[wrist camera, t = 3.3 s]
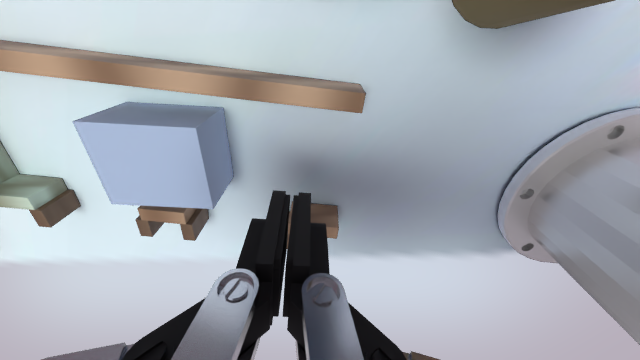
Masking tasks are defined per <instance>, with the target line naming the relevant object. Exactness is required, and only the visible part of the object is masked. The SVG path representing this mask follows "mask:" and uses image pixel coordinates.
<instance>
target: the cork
mask: <svg viewBox="0 0 640 360" xmlns="http://www.w3.org/2000/svg"><path fill="white" fill-rule="evenodd" d="M610 1H614V0H452V2H453V5H454V7H455V8H456V9H457V11H458V12H459V13H460V14H461V16H462V17H463V18H464V19H465V20H466V21H468V22H470V23H472V24H474V25H476V26H478V27H480V28H496V29H498V28H502V27H507V26H511V25H515V24H519V23H523V22H527V21H532V20H536V19H540V18H544V17H548V16H552V15H556V14H561V13H565V12H569V11H573V10H577V9H581V8H585V7H590V6H594V5H598V4H602V3H606V2H610Z"/></svg>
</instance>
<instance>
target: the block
mask: <svg viewBox="0 0 640 360" xmlns="http://www.w3.org/2000/svg"><path fill="white" fill-rule="evenodd" d="M72 122H73V124H74V126H75V128H76V130H77V132H78V134H79V136H80V138H81V141H82V143H83V145H84V147H85V149H86V151H87V153H88V155H89V157H90V160H91V162H92V164H93V166H94V168H95V170H96V172H97V174H98V176H99V178H100V181H101V183H102V185H103V187H104V189H105V191H106V193H107V195H108V197H109V200H110V202H111V204H122V205H142V206H162V207H181V208H201V209H214V207H215V206H216V204H217V202H218V201H219V199H220V198H221V196H222V194H223V193H224V191H225V190H226V188H227V186H228V185H229V183H230V182H231V180H232V178H233V177H234V175H233V169H232V162H231V155H230V149H229V142H228V135H227V129H226V122H225V116H224V109H223V107H208V106H189V105H171V104H152V103H134V102H125V103H122V104H119V105H117V106H114V107H111V108H108V109H106V110H103V111H100V112H97V113H95V114H92V115H89V116H86V117H84V118H81V119H78V120H75V121H72Z"/></svg>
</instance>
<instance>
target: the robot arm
mask: <svg viewBox="0 0 640 360" xmlns="http://www.w3.org/2000/svg"><path fill="white" fill-rule="evenodd" d="M289 206H290V195H286V191H274V190H273V193H272V197H271V201H270V205H269V210H268V214H267V218H266V219H252V220H251V223H250V226H249V229H248V232H247V235H246V239H245V242H244V245H243V248H242V251H241V254H240V257H239V260H238V264H237V267H236V269H233V270H230V271H227V272H225V273H224V274H222V275H221V276H220V277H219V278H218V279H217V280H216V281H215V283H214V284H213V286H212V288H211V290H210V291H209V293H208V295H207V297H206V298H205V299H203V300H202V301H200V302H198V303H197V304H195V305H194V306H192V307H191V308H189V309H187V310H186V311H184V312H183V313H181V314H179V315H178V316H176V317H175V318H173V319H171V320H170V321H168V322H167V323H165V324H164V325H162V326H160V327H159V328H157V329H156V330H154V331H152V332H151V333H149V334H148V335H146V336H145V337H143V338H142V339H140V340H139V341H138V342H136V343H135V344H132V345H126V344H125V343H120V344H115V345H110V346H105V347H99V348H94V349H89V350H84V351H79V352H74V353H69V354H63V355H58V356H53V357H48V358H45V359H42V360H254V357H255V354H256V351H257V348H258V345H259V341H260V337H261V336H262V335H263V334H264V333H266V332H267V331H268V330H269V329H270V325H272V319H273V316H278V315H279V306H280V299H281V290H282V282H283V274H284V265H285V257H286V249H287V239H288V222H289ZM498 226H499V228H500V231H501V233H502V235H503V237H504V238H505V239H506V240H507V241H508V243H509V244H510V245H511V246H512V247H513V248H514V249H515V250H516V251H517V252H518V253H520V254H522V255H524V256H526V257H528V258H530V259H533V260H537V261H541V262H550V263H559V264H560V265H561V266H562V267H563V268H564V269H565V270H566V271H567V272H568V273H569V274H570V275H571V276H572V277H573V278H574V279H575V280H576V281H577V283H579V284H580V286H582V288H583V289H584V290H585V291H587V293H588V294H589V295H591V297H592V298H593V299H595V300H596V302H597V303H599V305H600V306H601V307H602V308H603V309H604V310H605V311H606V312H607V313H608V314H609V315H610V316H611V317H613V319H614V320H615V321H616V322H617V323H618V324H619V325H620V326H621V327H622V328H623V329H624V330H625V331H626V332H627V333H628V334H629V335H630V336H631V337H632V338H633V339H634V340H635V341H636V342H637V343H638V344H639V345H640V108H632V109H627V110H623V111H618V112H614V113H610V114H607V115H604V116H601V117H598V118H596V119H593V120H590V121H588V122H585V123H583V124H581V125H579V126H577V127H575V128H573V129H571V130H570V131H568V132H566V133H564V134H562V135H561V136H559V137H558V138H556V139H555V140H553V141H552V142H550V143H549V144H547V145H546V146H544V147H543V148H542V149H541V150H540V151H538V152H537V153H536V154H535V155H534V156H533V157H531V158H530V159H529V160H528V161H527V162H526V163H525V164H524V165H523V167H522V168H521V169H520V170H519V171H518V172H517V173H516V174H515V176H514V177H513V179H512V180H511V182H510V183H509V185H508V186H507V188H506V189H505V192H504V194H503V196H502V199H501V201H500V204H499V210H498ZM283 317H288V328H287V330H288V331H289V332H290V333H291V334H292V336H293V337H294V338H295V339H296V353H297V360H439V359H436V358H433V357H429V356H426V355H422V354H419V353H415V352H412V351H411V353H410V354H408V353H405V352H402V351H401V350H400V349H399V348H398V347H397V346H396V345H395V344H394V343H393V342H392V341H391V340H390V339H388V338H387V337H386V336H385V335H384V334H383V333H382V332H380V330H378V329H377V328H376V327H375V326H374V325H373V324H372V323H371V322H369V321H368V320H367V319H366V318H365V317H364V316H363V315H362V314H360V313H359V312H358V311H357V310H356V309H355V308H354V307H353V306H351V305H350V304H349V303H348V301H347V298H346V294H345V291H344V288H343V286H342V283H341V282H340V281H339V280H338V279H337V278H335V277H334V276H332V275H330V274H329V260H328V244H327V229H326V224H325V223H311V193H300V192H299V196H297V195H294V199H293V207H292V216H291V225H290V234H289V242H288V251H287V260H286V272H285V288H284V305H283Z"/></svg>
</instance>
